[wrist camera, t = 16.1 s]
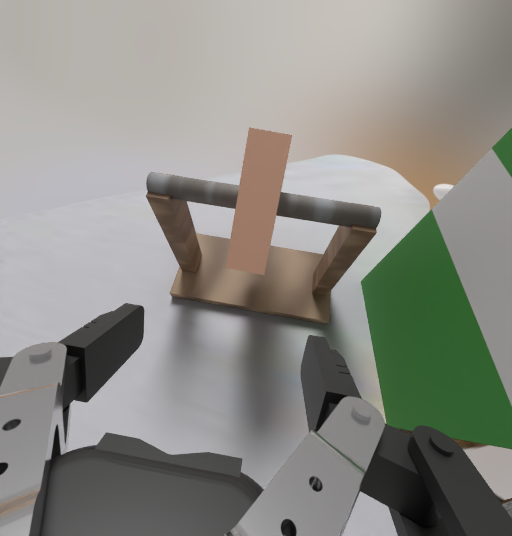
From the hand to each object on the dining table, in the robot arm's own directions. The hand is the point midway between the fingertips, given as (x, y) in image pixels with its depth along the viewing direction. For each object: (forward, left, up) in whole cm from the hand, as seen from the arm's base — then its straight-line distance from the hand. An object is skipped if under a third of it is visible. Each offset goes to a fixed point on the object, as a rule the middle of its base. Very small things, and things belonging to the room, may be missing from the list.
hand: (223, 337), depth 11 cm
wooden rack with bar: (0, +13, -19) cm, 23 cm away
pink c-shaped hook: (0, +17, -11) cm, 20 cm away
